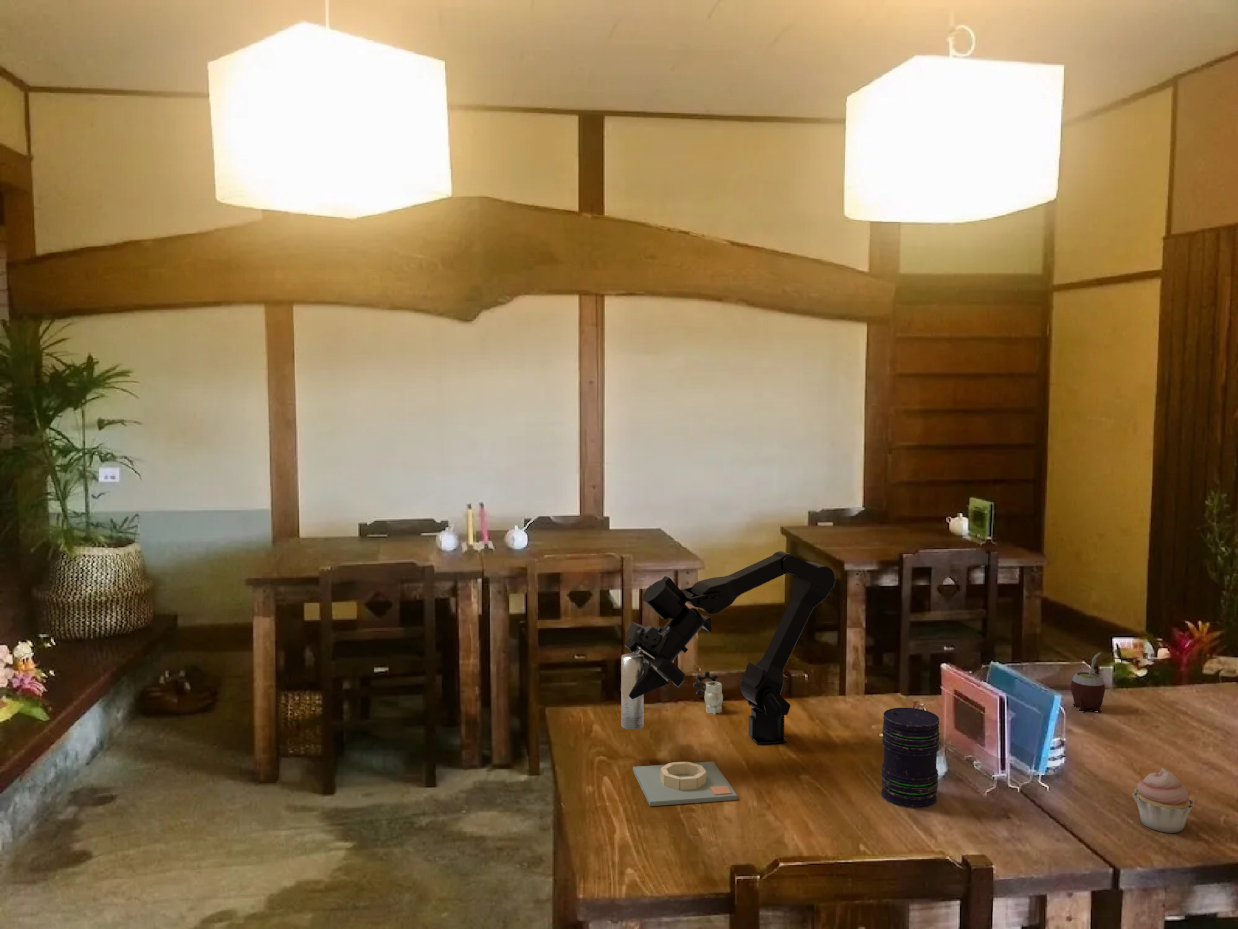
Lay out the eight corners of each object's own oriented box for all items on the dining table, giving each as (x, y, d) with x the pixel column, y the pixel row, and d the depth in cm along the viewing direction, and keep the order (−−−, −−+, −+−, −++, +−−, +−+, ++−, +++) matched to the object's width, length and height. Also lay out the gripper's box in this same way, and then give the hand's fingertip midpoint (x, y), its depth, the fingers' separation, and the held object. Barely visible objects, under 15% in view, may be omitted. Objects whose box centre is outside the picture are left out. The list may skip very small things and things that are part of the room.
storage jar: (943, 793, 182) (945, 713, 181) (930, 813, 174) (932, 729, 172) (888, 781, 187) (890, 704, 186) (873, 800, 179) (875, 719, 177)
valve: (729, 715, 224) (720, 697, 236) (729, 686, 223) (720, 670, 235) (700, 715, 224) (692, 698, 235) (700, 686, 223) (693, 671, 235)
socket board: (713, 765, 195) (713, 751, 194) (737, 799, 179) (737, 784, 179) (632, 771, 192) (632, 756, 192) (649, 806, 176) (649, 791, 176)
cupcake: (1127, 810, 175) (1130, 754, 174) (1188, 818, 172) (1191, 762, 171) (1133, 832, 166) (1136, 774, 166) (1197, 842, 163) (1200, 783, 162)
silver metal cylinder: (641, 721, 200) (641, 652, 199) (645, 728, 195) (645, 659, 194) (619, 722, 199) (619, 654, 198) (623, 730, 195) (623, 660, 193)
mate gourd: (1078, 702, 233) (1081, 639, 231) (1113, 711, 227) (1116, 646, 225) (1063, 709, 228) (1066, 644, 227) (1098, 718, 222) (1101, 652, 221)
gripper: (633, 598, 205) (582, 656, 202) (670, 618, 188) (615, 682, 185) (668, 632, 209) (619, 689, 206) (707, 655, 191) (654, 718, 188)
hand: (625, 694), depth 196 cm, fingers closed on silver metal cylinder, 4 cm apart
